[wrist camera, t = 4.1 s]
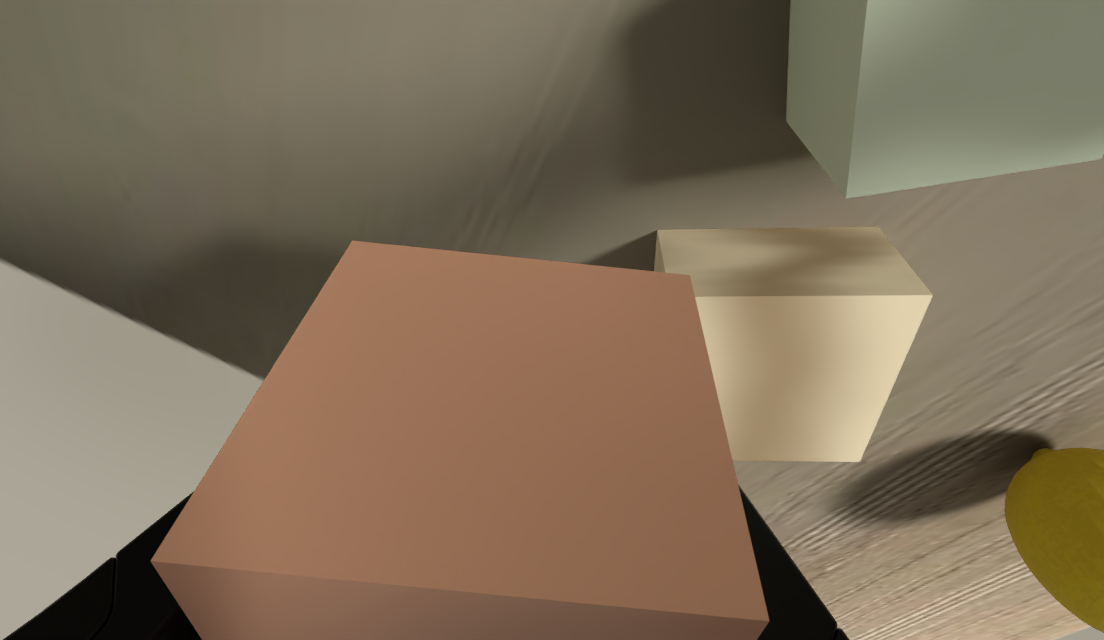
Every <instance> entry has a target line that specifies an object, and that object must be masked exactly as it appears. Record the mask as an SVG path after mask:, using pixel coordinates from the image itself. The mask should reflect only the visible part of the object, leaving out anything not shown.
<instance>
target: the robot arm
mask: <svg viewBox="0 0 1104 640" xmlns="http://www.w3.org/2000/svg"><path fill="white" fill-rule="evenodd" d="M738 486H739V485H738ZM739 491H740V495H741V499H742V504H743V508H744V512H745V517H746V521H747V525H748V530H749V534H750V539H751V543H752V547H753V552H754V556H755V560H756V565H757V569H758V573H759V578H760V582H761V586H762V591H763V595H764V599H765V604H766V608H767V613H768V617H769V623H768V624H767V626H766V627H765V629H764V630H763V631H762V633H761V634H760V636H759V637H758V639H757V640H849V638H848V637H847V636H846V634H845V633H844V631H843V630H842V629H840V628H837V622H836V621H835V619H834V618H833V616H832V615H831V614H830V612H829V611H828V609H827V608H826V607H825V605H824V604H823V602H822V601H821V600H820V598H819V597H818V595H817V594H816V593H815V591H814V590H813V588H812V587H811V586H810V584H809V583H808V581H807V580H806V578H805V577H804V576H803V574H802V573H801V571H800V570H799V569H798V567H797V566H796V564H795V563H794V562H793V560H792V559H791V557H790V556H789V555H788V553H787V552H786V550H785V549H784V548H783V546H782V545H781V543H780V542H779V541H778V539H777V538H776V536H775V535H774V534H773V532H772V531H771V529H770V528H769V527H768V525H767V524H766V522H765V521H764V520H763V518H762V517H761V515H760V514H759V513H758V511H757V510H756V508H755V507H754V506H753V504H752V503H751V501H750V500H749V499H748V497H747V496H746V494H745V493H744V492H743V490H742V489H741V487H740V486H739ZM193 493H194V492H192V494H193ZM192 494H190V495H189V496H187V497H186V498H185V499H184V500H183V501H181V502H180V503H179V504H177V505H176V506H175V507H174V508H172V509H171V510H170V511H169V512H168V513H167V514H165V515H164V516H162V517H161V518H160V519H159V520H157V522H155V523H154V524H153V525H151V526H150V527H149V528H148V529H146V530H145V531H144V532H143V533H141V534H140V535H139V536H137V537H136V538H135V539H134V540H133V541H131V542H130V543H129V544H128V545H126V546H125V547H124V548H122V549H121V550H120V551H119V552H118V553H117V554H116V558H110V559H109V560H107V561H106V562H105V563H103V564H102V565H101V566H100V567H98V568H97V569H96V570H95V571H94V572H92V573H91V574H90V575H89V576H87V577H86V578H85V579H84V580H82V581H81V582H80V583H78V584H77V585H76V586H74V587H73V588H72V589H70V590H69V591H68V592H67V593H65V594H64V595H63V596H61V597H60V598H59V599H58V600H56V601H55V602H54V603H52V604H51V605H50V606H49V607H47V608H46V609H44V610H43V611H42V612H41V613H39V614H38V615H37V616H35V617H34V618H32V619H31V620H30V621H28V622H27V623H25V624H24V625H23V626H21V627H20V628H18V629H17V630H16V631H14V632H13V633H11V634H10V635H9V636H7V637H6V638H4V639H3V640H202V639H201V637H200V636H199V634H198V633H197V631H196V630H195V628H194V627H193V625H192V624H191V622H190V621H189V619H188V618H187V616H186V615H185V613H184V611H183V610H182V608H181V607H180V605H179V604H178V602H177V601H176V599H175V598H174V596H173V595H172V593H171V592H170V590H169V589H168V587H167V586H166V584H165V583H164V581H163V580H162V578H161V577H160V575H159V573H158V572H157V570H156V569H155V567H154V566H153V564H152V563H151V559H152V558H153V556H154V555H155V553H156V551H157V550H158V548H159V547H160V545H161V543H162V542H163V540H164V539H165V537H166V535H167V534H168V532H169V531H170V529H171V528H172V526H173V524H174V523H175V521H176V520H177V518H178V516H179V515H180V513H181V512H182V510H183V508H184V507H185V505H186V504H187V502H188V501H189V499H190V497H191V496H192Z"/></svg>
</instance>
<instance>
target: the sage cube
mask: <svg viewBox="0 0 1104 640" xmlns="http://www.w3.org/2000/svg"><path fill="white" fill-rule="evenodd" d="M786 122H787V123H788V124H789V126H790V127H791V128H792V130H793V131H794V132H795V133H796V135H797V136H798V137H799V139H800V140H801V141H802V143H803V144H804V145H805V146H806V148H807V149H808V150H809V152H810V153H811V154H812V155H813V157H814V158H815V159H816V161H817V162H818V163H819V164H820V166H821V167H822V168H823V170H824V171H825V172H826V174H827V175H828V176H829V177H830V179H831V180H832V181H833V183H834V184H835V185H836V186H837V188H838V189H839V190H840V192H841V193H842V194H843V195H844V197H845V198H846V199H847V198H853V197H860V196H866V195H873V194H879V193H886V192H892V191H898V190H905V189H911V188H918V187H924V186H931V185H937V184H944V183H950V182H956V181H963V180H969V179H976V178H982V177H989V176H995V175H1001V174H1008V173H1014V172H1021V171H1027V170H1034V169H1040V168H1046V167H1053V166H1059V165H1066V164H1072V163H1079V162H1085V161H1092V160H1098V159H1101V158H1102V156H1103V153H1104V0H791V3H790V29H789V56H788V82H787V109H786Z"/></svg>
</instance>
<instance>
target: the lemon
mask: <svg viewBox="0 0 1104 640" xmlns="http://www.w3.org/2000/svg"><path fill="white" fill-rule="evenodd" d="M1005 518H1006V522H1007V525H1008V529H1009V531H1010V534H1011V536H1012V539H1013V541H1014V543H1015V546H1016V548H1017V550H1018V552H1019V554H1020V555H1021V557H1022V559H1023V560H1024V562H1025V563H1026V565H1027V566H1028V568H1029V569H1030V571H1031V572H1032V573H1033V574H1034V576H1035V577H1036V578H1037V579H1038V581H1039V582H1040V583H1041V584H1042V585H1043V586H1044V587H1045V588H1046V590H1047V591H1048V592H1049V593H1050V594H1051V595H1052V596H1053V597H1054V598H1055V599H1056V600H1058V601H1059V602H1060V603H1061V604H1062V605H1063V606H1064V607H1065V608H1067V609H1068V610H1069V611H1070V612H1072V613H1073V614H1074V615H1076V616H1077V617H1078V618H1079V619H1081V620H1082V621H1083V622H1085V623H1087V624H1088V625H1090V626H1091V627H1093V628H1095V629H1097V630H1099V631H1102V632H1103V633H1104V450H1098V449H1090V448H1069V449H1060V450H1053V449H1047V448H1043V449H1039V450H1037V451H1036V452H1034V454H1033V456H1032V458H1031V460H1030V461H1029V462H1028V463H1026V464H1025V465H1024V466H1023V467H1022V468H1021V469H1020V470H1019V471H1018V472H1017V473H1016V474H1015V475H1014V477H1013V479H1012V480H1011V482H1010V484H1009V486H1008V489H1007V493H1006V499H1005Z"/></svg>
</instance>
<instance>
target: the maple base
mask: <svg viewBox="0 0 1104 640" xmlns="http://www.w3.org/2000/svg"><path fill="white" fill-rule="evenodd" d="M654 271H655V272H665V273H675V274H685V275H690V277H691V282H692V286H693V291H694V295H695V299H696V304H697V308H698V312H699V317H700V321H701V325H702V330H703V334H704V338H705V343H706V347H707V351H708V356H709V360H710V364H711V369H712V373H713V378H714V382H715V386H716V391H717V395H718V399H719V404H720V408H721V412H722V417H723V421H724V425H725V430H726V434H727V438H728V443H729V447H730V452H731V456H732V460H743V461H834V462H860V460H861V458H862V456H863V453H864V451H865V449H866V446H867V444H868V442H869V440H870V437H871V435H872V433H873V430H874V428H875V426H876V424H877V421H878V419H879V417H880V415H881V412H882V410H883V408H884V405H885V403H886V401H887V399H888V396H889V394H890V392H891V389H892V387H893V385H894V383H895V380H896V378H897V376H898V374H899V371H900V369H901V367H902V364H903V362H904V360H905V358H906V355H907V353H908V351H909V348H910V346H911V344H912V342H913V339H914V337H915V335H916V333H917V330H918V328H919V326H920V323H921V321H922V319H923V317H924V314H925V312H926V310H927V307H928V305H929V303H930V301H931V298H932V296H933V295H932V294H931V292H930V291H929V290H928V289H927V287H926V286H925V285H924V284H923V282H922V281H921V280H920V279H919V277H918V276H917V275H916V274H915V272H914V271H913V270H912V269H911V267H910V266H909V265H908V264H907V262H906V261H905V260H904V259H903V257H902V256H901V255H900V254H899V252H898V251H897V250H896V249H895V247H894V246H893V245H892V244H891V242H890V241H889V240H888V239H887V237H886V236H885V235H884V234H883V233H882V231H881V230H880V229H879V228H878V227H838V228H766V229H695V230H657V240H656V253H655V265H654Z"/></svg>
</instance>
